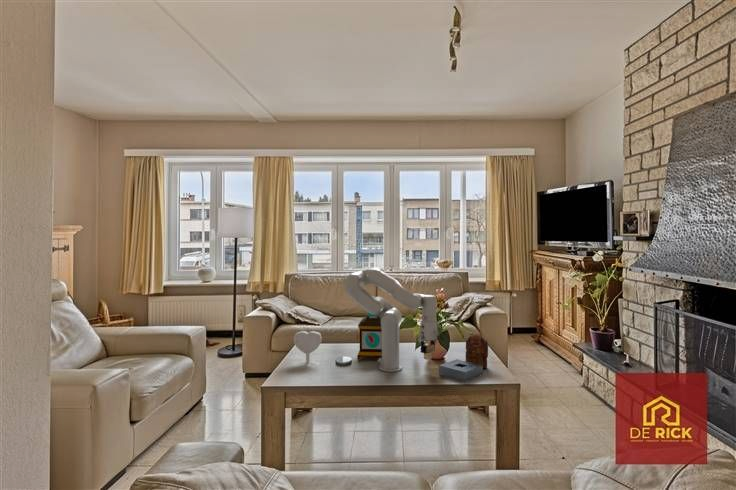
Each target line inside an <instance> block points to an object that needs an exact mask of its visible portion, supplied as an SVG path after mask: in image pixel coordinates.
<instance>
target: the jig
mask: <svg viewBox="0 0 736 490" xmlns="http://www.w3.org/2000/svg"><path fill="white" fill-rule="evenodd" d="M483 370H484V369H483V365H479V364H475V363H470V362H466V360H461V359H457V358H456V359H454V360H451V361H447V362H445V363H442V364H439V365H438V375H439V376H441V377H445V378H448V377H449V378H448V379H452V378H453V379H452V380H455V379H457V380H456V381H459V380H460V381H459V382H463V381H464V383H467V382H466V381H468V380H470V381H471V379H472V380H474V379H473V378H475V377H477V378H479V377H481V376H480V375H482V374H483V373H484V371H483ZM483 375H484V374H483ZM483 375H482V376H483ZM478 376H479V377H478ZM475 379H476V378H475ZM468 382H469V381H468Z"/></svg>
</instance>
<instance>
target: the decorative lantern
mask: <svg viewBox="0 0 736 490" xmlns="http://www.w3.org/2000/svg"><path fill="white" fill-rule="evenodd" d="M357 327H358V330H359V331H357V334H356V340H357V342H358V344H359V350H358V354H357V361H358V362H360V361H361V358H362V357H363V358H364V357H366V358H368V357H369V358H371V357H372V358H374V357H375V358H382V331H381V316H379V315H376V316H374V315H371V314H370V313H369V312H368V311H367V315H366V317H363V318H362V319H360V321H359V322H358V325H357Z"/></svg>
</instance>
